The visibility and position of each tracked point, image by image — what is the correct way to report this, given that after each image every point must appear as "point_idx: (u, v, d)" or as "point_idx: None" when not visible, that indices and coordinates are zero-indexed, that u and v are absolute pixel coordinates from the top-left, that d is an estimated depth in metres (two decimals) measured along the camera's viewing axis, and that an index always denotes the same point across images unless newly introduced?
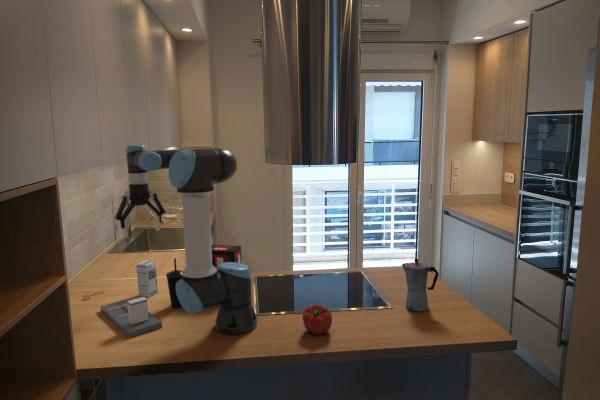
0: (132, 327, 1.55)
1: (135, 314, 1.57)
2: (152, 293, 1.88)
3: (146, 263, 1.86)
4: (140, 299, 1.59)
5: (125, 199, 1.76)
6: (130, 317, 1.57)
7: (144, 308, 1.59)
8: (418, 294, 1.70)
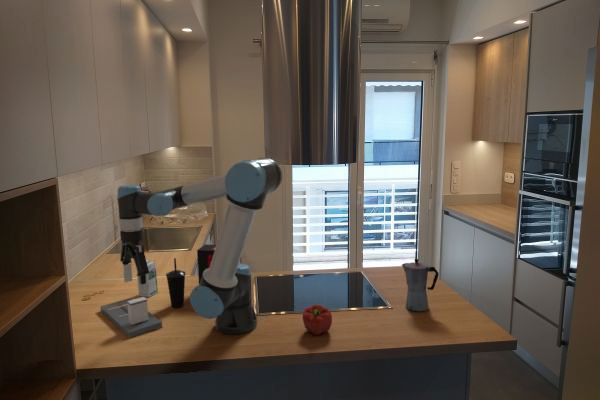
0: (132, 327, 1.55)
1: (135, 314, 1.57)
2: (152, 293, 1.88)
3: None
4: (140, 299, 1.59)
5: (122, 242, 1.58)
6: (130, 317, 1.57)
7: (144, 308, 1.59)
8: (418, 294, 1.70)
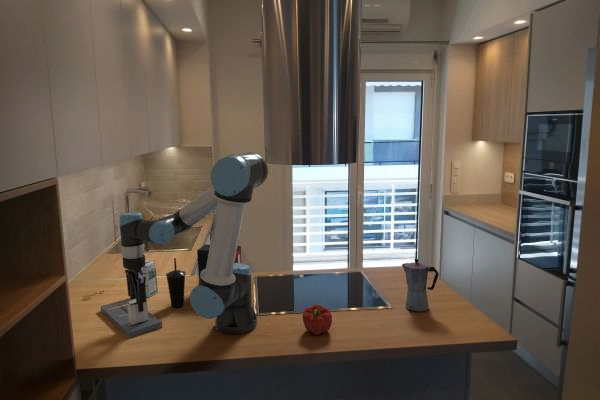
0: (132, 327, 1.55)
1: (135, 314, 1.57)
2: (152, 293, 1.88)
3: (146, 263, 1.86)
4: None
5: (126, 273, 1.60)
6: (130, 317, 1.57)
7: (144, 308, 1.59)
8: (418, 294, 1.70)
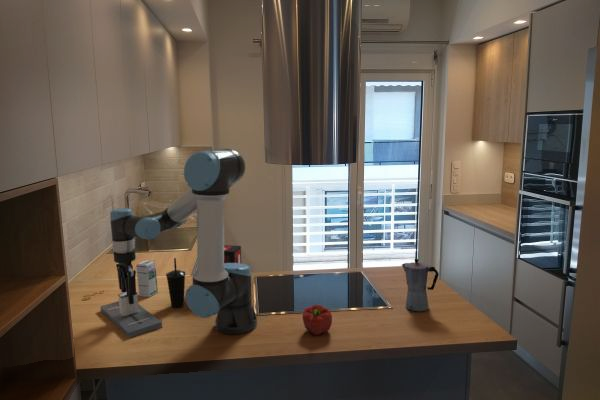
0: (132, 327, 1.55)
1: (126, 306, 1.64)
2: (152, 293, 1.88)
3: (146, 263, 1.86)
4: None
5: (117, 267, 1.67)
6: (121, 309, 1.64)
7: (135, 301, 1.66)
8: (418, 294, 1.70)
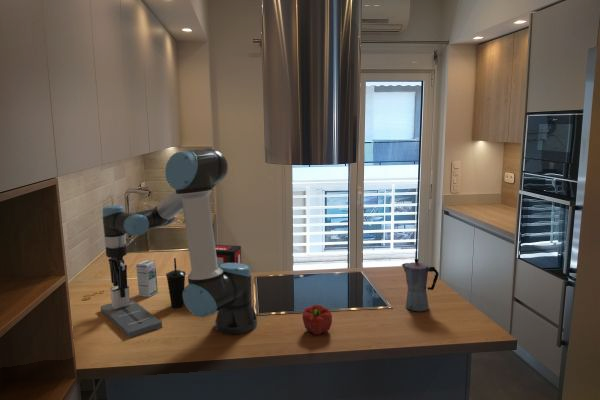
0: (132, 327, 1.55)
1: None
2: (152, 293, 1.88)
3: (146, 263, 1.86)
4: None
5: (109, 261, 1.73)
6: (113, 302, 1.70)
7: (126, 294, 1.72)
8: (418, 294, 1.70)
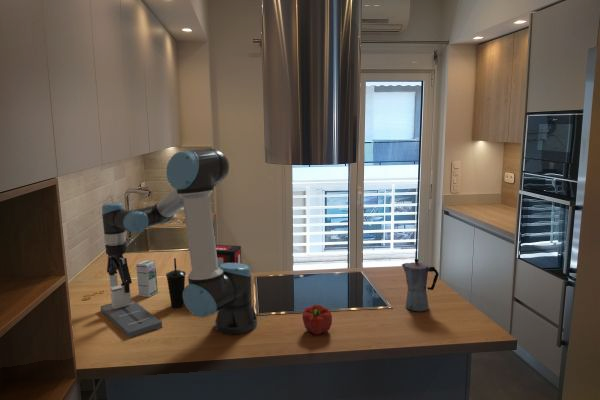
0: (132, 327, 1.55)
1: (118, 299, 1.70)
2: (152, 293, 1.88)
3: (146, 263, 1.86)
4: None
5: (108, 255, 1.73)
6: (113, 302, 1.70)
7: None
8: (418, 294, 1.70)
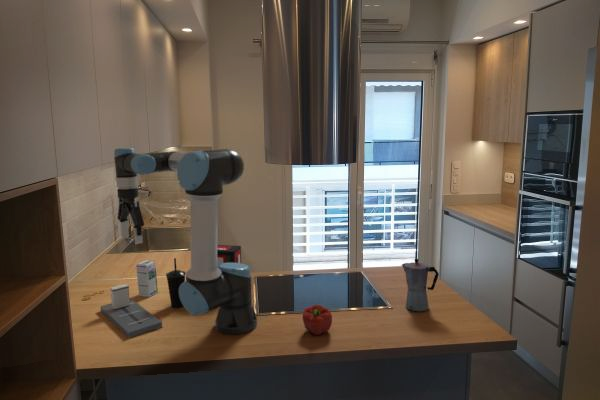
0: (132, 327, 1.55)
1: (118, 299, 1.70)
2: (152, 293, 1.88)
3: (146, 263, 1.86)
4: (122, 286, 1.72)
5: (119, 201, 1.76)
6: (113, 302, 1.70)
7: (126, 294, 1.72)
8: (418, 294, 1.70)
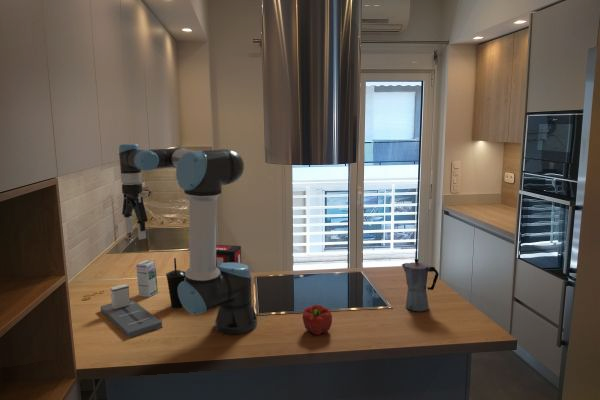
0: (132, 327, 1.55)
1: (118, 299, 1.70)
2: (152, 293, 1.88)
3: (146, 263, 1.86)
4: (122, 286, 1.72)
5: (124, 196, 1.77)
6: (113, 302, 1.70)
7: (126, 294, 1.72)
8: (418, 294, 1.70)
